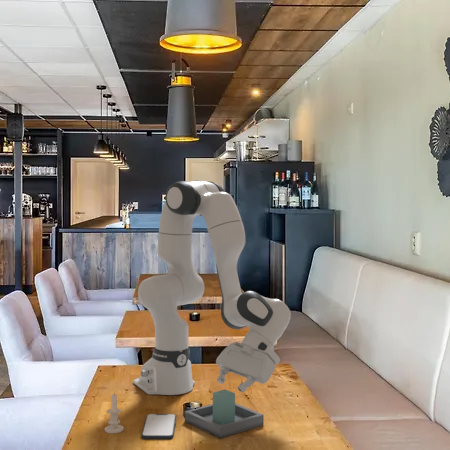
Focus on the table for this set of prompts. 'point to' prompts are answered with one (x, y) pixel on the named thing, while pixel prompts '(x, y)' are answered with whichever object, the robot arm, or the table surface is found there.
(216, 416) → the sage block
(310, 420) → the table surface
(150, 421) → the smartphone
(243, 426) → the charcoal tray
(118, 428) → the candle
